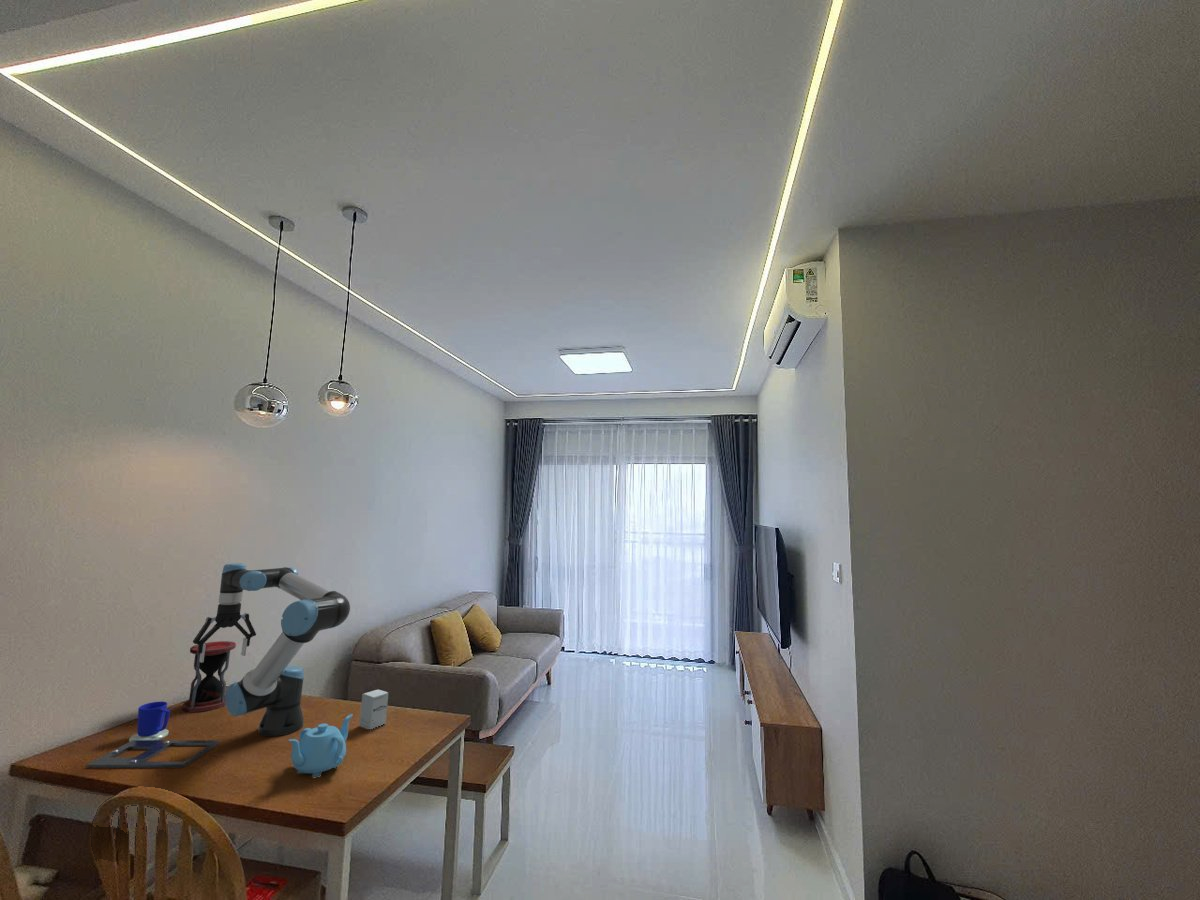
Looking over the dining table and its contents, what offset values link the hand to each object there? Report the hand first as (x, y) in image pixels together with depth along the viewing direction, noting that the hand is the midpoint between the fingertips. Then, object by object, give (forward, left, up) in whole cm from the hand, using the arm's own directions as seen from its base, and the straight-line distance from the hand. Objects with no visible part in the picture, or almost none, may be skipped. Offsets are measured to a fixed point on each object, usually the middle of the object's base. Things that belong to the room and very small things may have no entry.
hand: (222, 658), depth 198 cm
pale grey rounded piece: (+19, +6, -27) cm, 33 cm away
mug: (+18, +5, -26) cm, 32 cm away
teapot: (-53, +30, -27) cm, 67 cm away
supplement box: (-58, -5, -27) cm, 64 cm away
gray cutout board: (+6, +20, -27) cm, 34 cm away
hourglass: (+20, -26, -27) cm, 42 cm away
